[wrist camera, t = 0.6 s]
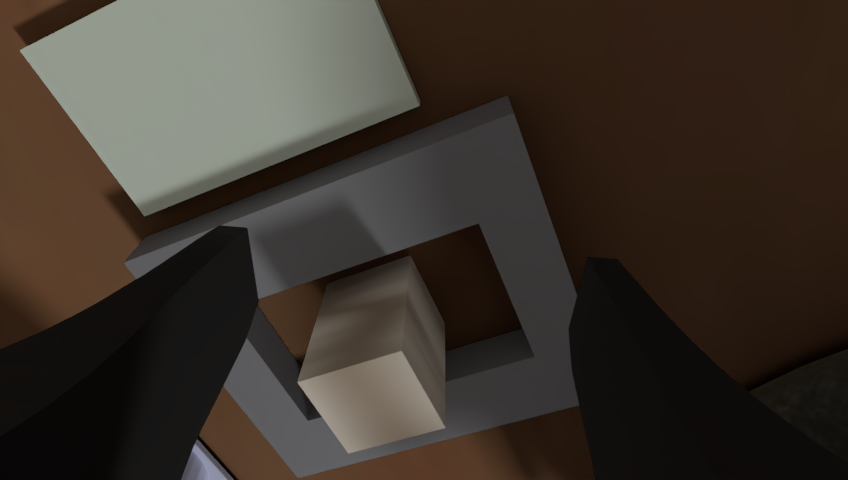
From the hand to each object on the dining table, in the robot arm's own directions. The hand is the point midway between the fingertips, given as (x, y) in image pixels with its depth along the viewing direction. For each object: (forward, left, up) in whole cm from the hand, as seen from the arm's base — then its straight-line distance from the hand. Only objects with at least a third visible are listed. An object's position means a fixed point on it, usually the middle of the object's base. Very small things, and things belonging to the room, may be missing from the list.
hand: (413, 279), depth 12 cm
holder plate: (-5, -7, -10) cm, 13 cm away
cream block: (-5, -7, -10) cm, 13 cm away
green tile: (-6, +4, -10) cm, 13 cm away
